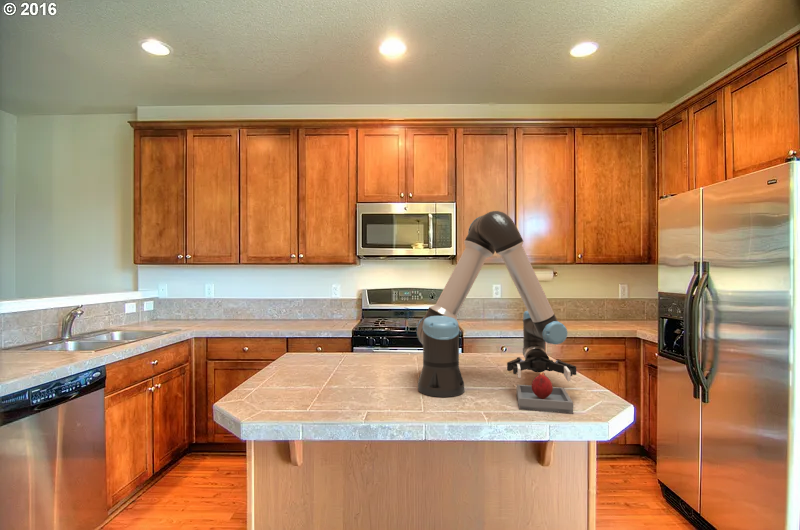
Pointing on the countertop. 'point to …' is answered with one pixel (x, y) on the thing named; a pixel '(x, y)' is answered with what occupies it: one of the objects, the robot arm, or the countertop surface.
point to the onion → (542, 386)
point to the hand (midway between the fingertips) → (543, 374)
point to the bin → (544, 400)
